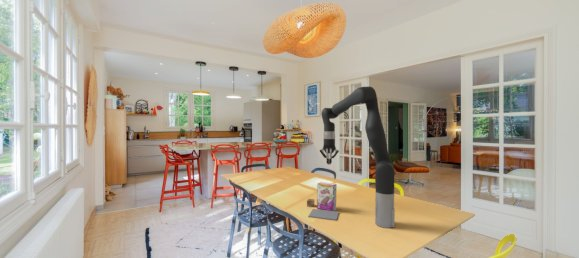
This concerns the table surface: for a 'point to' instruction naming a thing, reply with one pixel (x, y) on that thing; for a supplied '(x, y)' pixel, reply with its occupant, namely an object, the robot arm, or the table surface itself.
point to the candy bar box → (326, 196)
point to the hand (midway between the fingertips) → (329, 164)
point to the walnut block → (310, 203)
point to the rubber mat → (324, 214)
